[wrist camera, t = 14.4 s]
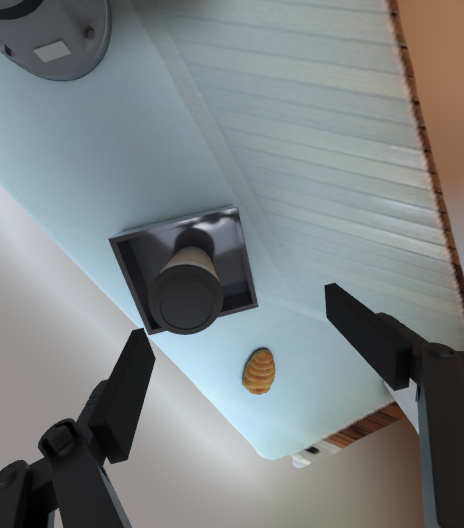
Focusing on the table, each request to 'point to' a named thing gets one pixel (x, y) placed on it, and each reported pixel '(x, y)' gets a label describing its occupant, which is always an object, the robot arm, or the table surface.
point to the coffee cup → (186, 293)
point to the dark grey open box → (176, 238)
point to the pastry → (259, 372)
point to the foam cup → (407, 401)
